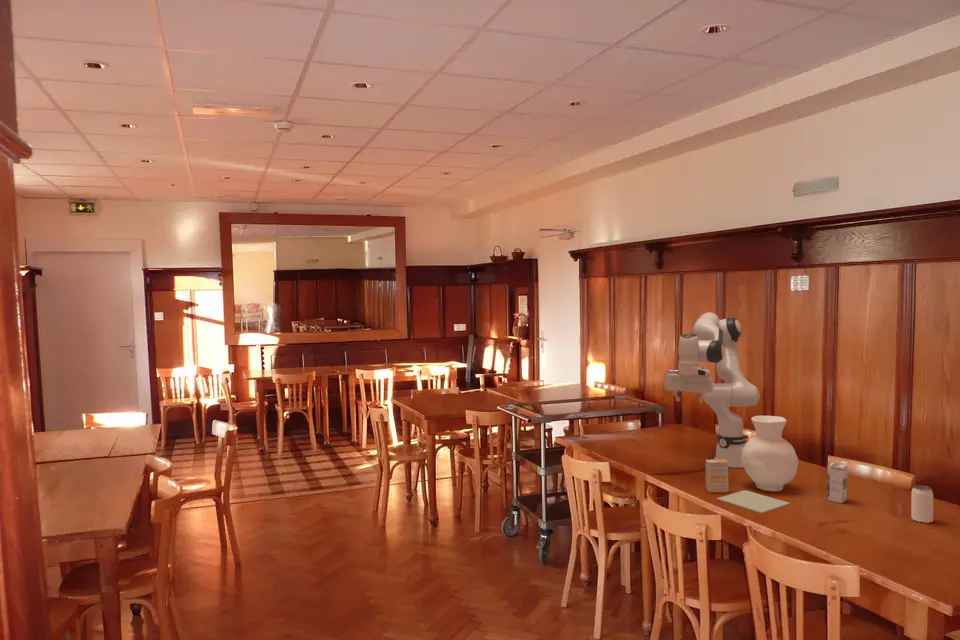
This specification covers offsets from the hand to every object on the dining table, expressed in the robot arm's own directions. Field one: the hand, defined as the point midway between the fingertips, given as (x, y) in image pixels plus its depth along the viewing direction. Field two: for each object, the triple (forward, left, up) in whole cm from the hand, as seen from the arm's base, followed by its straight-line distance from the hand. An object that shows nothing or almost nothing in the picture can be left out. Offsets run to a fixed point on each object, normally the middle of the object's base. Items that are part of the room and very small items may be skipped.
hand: (689, 401), depth 285 cm
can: (-28, +81, -35) cm, 93 cm away
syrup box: (-25, +52, -35) cm, 68 cm away
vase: (-18, +27, -35) cm, 48 cm away
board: (+3, +34, -35) cm, 49 cm away
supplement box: (+3, +17, -35) cm, 39 cm away
